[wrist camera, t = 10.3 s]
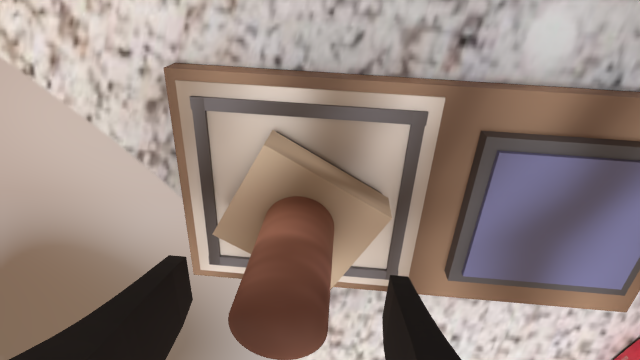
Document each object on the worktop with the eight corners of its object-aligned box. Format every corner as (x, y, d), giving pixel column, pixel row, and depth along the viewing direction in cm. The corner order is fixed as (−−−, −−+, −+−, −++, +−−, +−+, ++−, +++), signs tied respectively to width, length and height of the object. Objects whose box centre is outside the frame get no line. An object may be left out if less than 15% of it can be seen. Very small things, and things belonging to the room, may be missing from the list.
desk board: (725, 97, 16) (776, 112, 14) (613, 296, 22) (639, 327, 20) (174, 63, 17) (152, 72, 15) (201, 261, 23) (186, 287, 21)
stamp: (387, 191, 18) (411, 319, 11) (329, 262, 21) (319, 404, 13) (274, 125, 17) (221, 221, 10) (227, 207, 19) (156, 333, 12)
